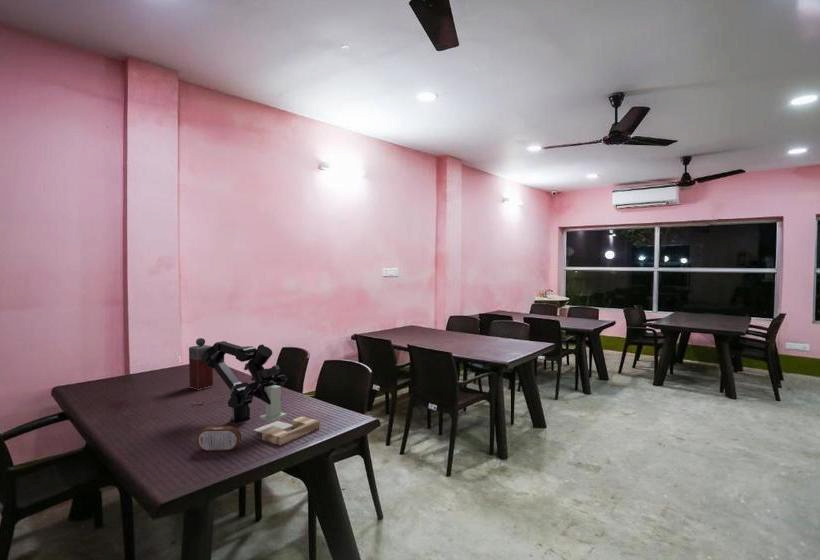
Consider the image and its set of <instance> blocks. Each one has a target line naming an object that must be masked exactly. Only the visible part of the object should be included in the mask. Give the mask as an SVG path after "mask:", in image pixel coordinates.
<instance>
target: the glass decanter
mask: <svg viewBox="0 0 820 560" xmlns="http://www.w3.org/2000/svg"><path fill="white" fill-rule="evenodd" d="M205 343H206V340H205V338H204V337H203V338H202V337H198V338H197V339H196V340H195V344H196V345H193V346H189V348H188V361H189V362H188V365H189V367H188V368H189V369H188V370H189V371H188V372H189V375H188V376H189V388H190V387H193V388H196V389H200V388H204V387H208V386H212V385H213V386H214V368H211V367H209V366H207V365H206V364H205V363H204V362H203V360H202V355H203V353H204V352H205V351H206V350H207V349H209V348H210V347H212V346H213V345H207V344H205Z"/></svg>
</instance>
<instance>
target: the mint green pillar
mask: <svg viewBox="0 0 820 560" xmlns="http://www.w3.org/2000/svg"><path fill="white" fill-rule="evenodd" d="M265 392H266V394H267V396H268V397H269V399H270V401H271V404H267V403H266V402H265V413H264V414H262V415H260V416H259V419H260V420H263V421H267V422H270V423H273V422H276V421H279V420H281V419H283V418H285V417H288V414H287V413H286V412H284V411H283V412H282V400H281V398H282V386H277V385H274V386H269V387H265Z"/></svg>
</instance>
